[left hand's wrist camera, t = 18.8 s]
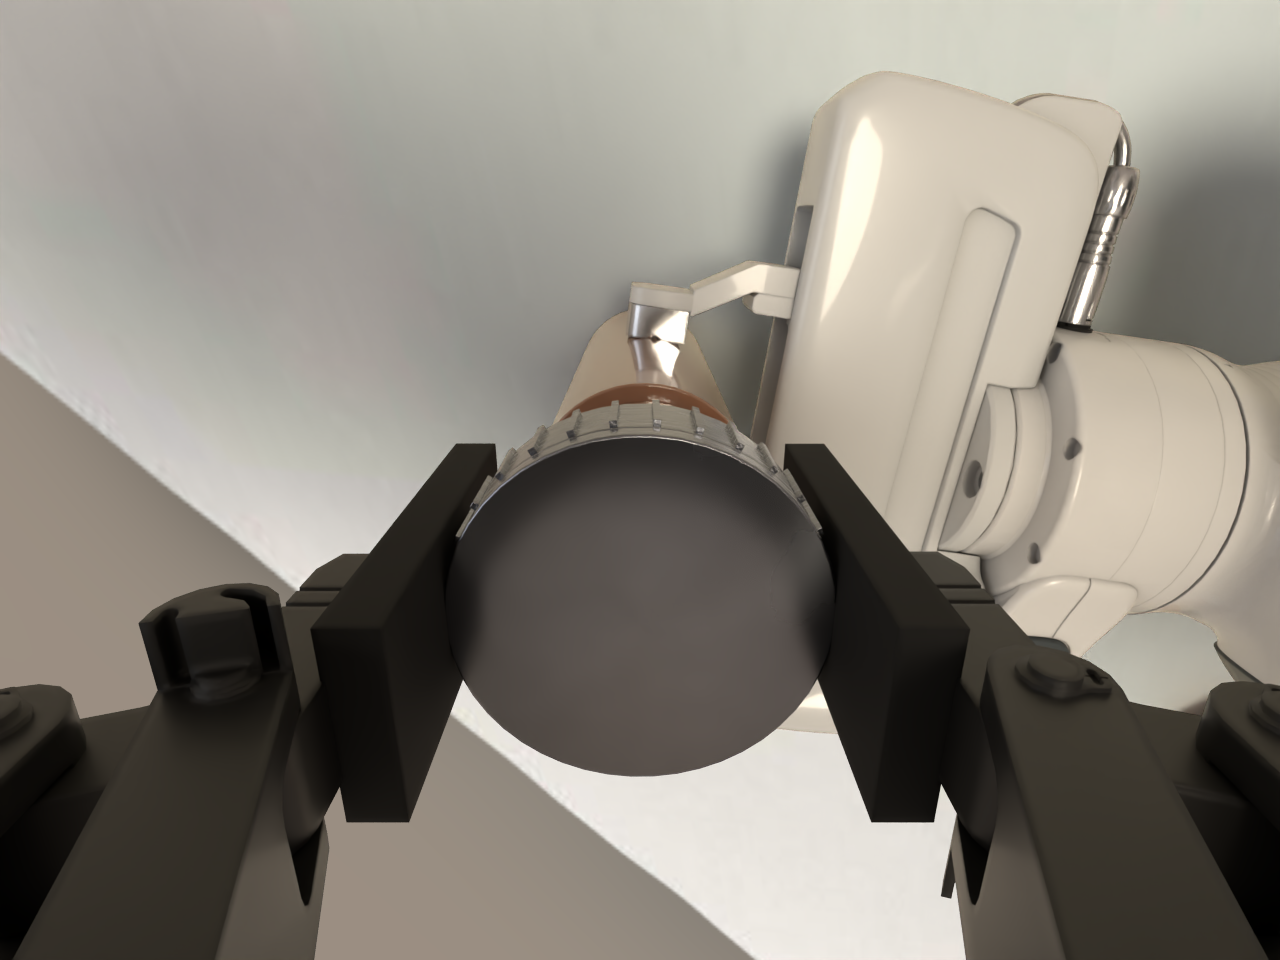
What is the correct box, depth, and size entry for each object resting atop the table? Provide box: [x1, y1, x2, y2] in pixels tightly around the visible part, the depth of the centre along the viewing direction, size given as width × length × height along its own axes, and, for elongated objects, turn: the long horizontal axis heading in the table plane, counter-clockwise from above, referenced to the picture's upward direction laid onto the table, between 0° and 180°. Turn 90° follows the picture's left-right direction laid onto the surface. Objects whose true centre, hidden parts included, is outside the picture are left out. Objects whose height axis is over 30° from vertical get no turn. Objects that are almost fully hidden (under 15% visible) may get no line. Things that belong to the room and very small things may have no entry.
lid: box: [444, 400, 836, 776], centre depth 11 cm, size 6×6×2 cm
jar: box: [552, 310, 734, 425], centre depth 22 cm, size 5×5×15 cm
